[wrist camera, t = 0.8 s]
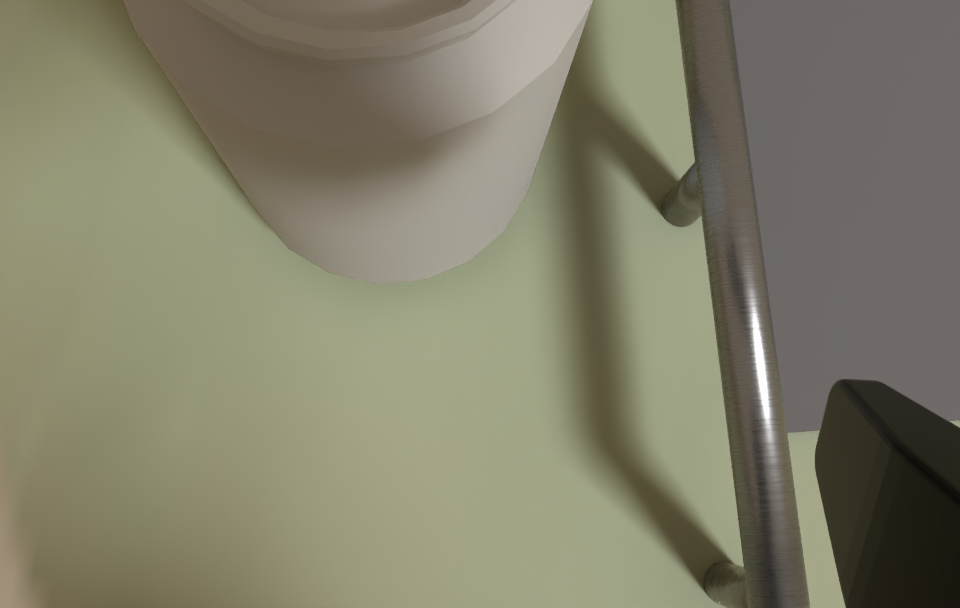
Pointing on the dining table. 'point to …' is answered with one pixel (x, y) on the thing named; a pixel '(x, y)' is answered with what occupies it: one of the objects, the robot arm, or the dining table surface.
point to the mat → (857, 193)
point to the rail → (738, 317)
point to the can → (372, 116)
